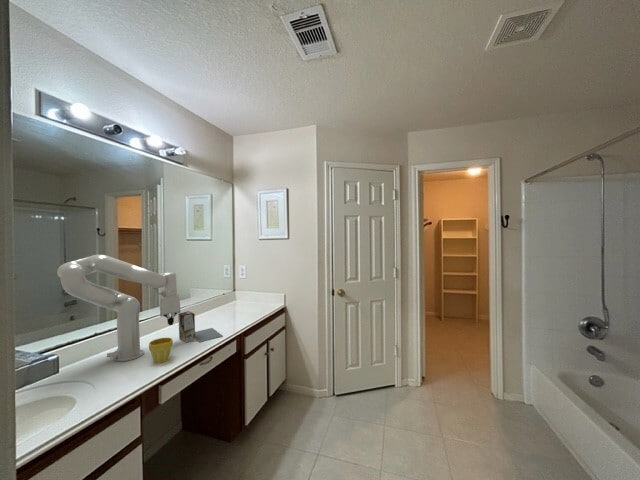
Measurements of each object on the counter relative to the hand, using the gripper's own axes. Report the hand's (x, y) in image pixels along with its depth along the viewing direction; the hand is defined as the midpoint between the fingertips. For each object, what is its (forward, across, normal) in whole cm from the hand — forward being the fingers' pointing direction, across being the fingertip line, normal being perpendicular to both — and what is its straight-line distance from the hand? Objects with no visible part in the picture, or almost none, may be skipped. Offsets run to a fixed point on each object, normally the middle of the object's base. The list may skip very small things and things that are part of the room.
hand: (170, 324), depth 157 cm
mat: (+11, +20, 0) cm, 23 cm away
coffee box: (+12, +8, 0) cm, 14 cm away
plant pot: (+11, -8, -21) cm, 25 cm away
